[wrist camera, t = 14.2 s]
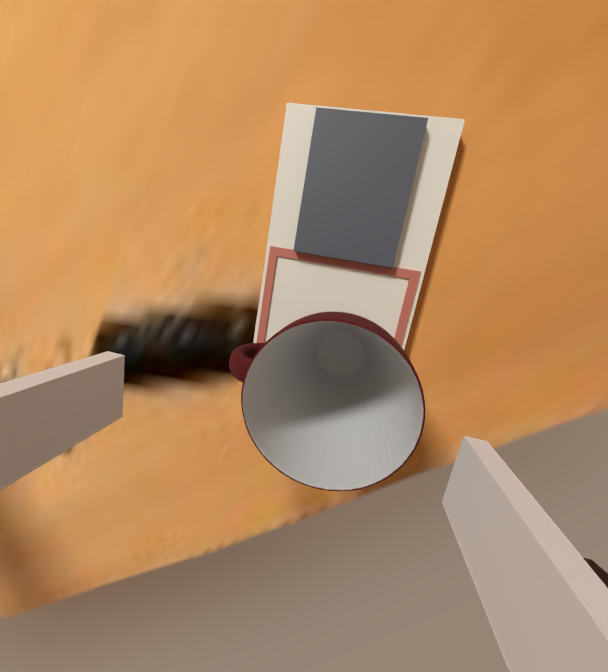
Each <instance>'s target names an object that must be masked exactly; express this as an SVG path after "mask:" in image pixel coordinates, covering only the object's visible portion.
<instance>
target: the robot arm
mask: <svg viewBox="0 0 608 672" xmlns="http://www.w3.org/2000/svg"><path fill="white" fill-rule="evenodd" d="M124 356H125V355H121V354H117V353H112V352H108V351H107V352H104V353H101V354H97V355H94V356H91V357H87V358H84V359H81V360H77V361H74V362H71V363H67V364H64V365H61V366H57V367H54V368H51V369H47V370H44V371H40V372H37V373H34V374H30V375H27V376H24V377H20V378H17V379H14V380H10V381H7V382H4V383H0V490H2V489H3V488H5V487H7V486H8V485H10V484H12V483H13V482H15V481H17V480H18V479H20V478H22V477H23V476H25V475H27V474H28V473H30V472H32V471H33V470H35V469H37V468H38V467H40V466H42V465H43V464H45V463H47V462H48V461H50V460H52V459H53V458H55V457H57V456H58V455H60V454H62V453H63V452H65V451H66V450H68V449H70V448H71V447H73V446H75V445H76V444H78V443H80V442H81V441H83V440H85V439H86V438H88V437H90V436H91V435H93V434H95V433H96V432H98V431H100V430H101V429H103V428H105V427H106V426H108V425H110V424H111V423H113V422H115V421H116V420H118V419H120V418H121V417H122V413H123V385H124ZM442 504H443V507H444V509H445V512H446V514H447V517H448V519H449V522H450V524H451V527H452V529H453V532H454V534H455V537H456V540H457V541H458V544H459V547H460V550H461V552H462V555H463V557H464V560H465V562H466V565H467V567H468V570H469V572H470V575H471V577H472V580H473V582H474V585H475V588H476V590H477V592H478V595H479V598H480V600H481V602H482V605H483V607H484V610H485V613H486V615H487V618H488V620H489V623H490V626H491V628H492V631H493V633H494V636H495V638H496V641H497V643H498V646H499V648H500V651H501V653H502V656H503V658H504V661H505V663H506V666H507V669H508V671H509V672H608V574H607V573H606V572H605V571H604V570H603V569H602V568H601V567H599V566H598V565H597V564H596V563H595V562H594V561H592V560H590V559H586V558H583V557H582V556H581V555H580V554H579V552H578V551H577V550H576V549H575V548H574V546H573V545H572V544H571V543H570V542H569V541H568V539H567V538H566V537H565V535H564V534H563V533H562V532H561V531H560V529H559V528H558V527H557V526H556V524H555V523H554V522H553V521H552V520H551V518H550V517H549V516H548V515H547V514H546V512H545V511H544V510H543V509H542V507H541V506H540V505H539V504H538V503H537V501H536V500H535V499H534V498H533V496H532V495H531V494H530V493H529V492H528V490H527V489H526V488H525V487H524V486H523V484H522V483H521V482H520V481H519V479H518V478H517V477H516V476H515V474H514V473H513V472H512V471H511V470H510V468H509V467H508V466H507V465H506V464H505V462H504V461H503V460H502V459H501V457H500V456H499V455H498V454H497V453H496V451H495V450H494V449H493V448H492V446H491V445H490V444H489V443H488V442H487V441H484V440H480V439H476V438H471V437H467V436H464V437H463V440H462V443H461V446H460V449H459V452H458V455H457V458H456V461H455V464H454V467H453V470H452V473H451V476H450V479H449V482H448V485H447V488H446V491H445V494H444V497H443V500H442Z"/></svg>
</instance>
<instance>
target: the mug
mask: <svg viewBox="0 0 608 672" xmlns="http://www.w3.org/2000/svg"><path fill="white" fill-rule="evenodd" d="M229 367H230V370H231V373H232V375H233V376H234V377H235V378H236V379H238V380H239V381H241V382H243V385H242V393H241V404H242V413H243V418H244V422H245V425H246V428H247V430H248V433H249V435H250V437H251V439H252V441H253V443H254V444H255V446H256V448H257V449H258V450H259V452H260V453H261V454H262V455H263V457H264V458H265V459H266V460H267V461H268V462H269V463H270V464H271V465H272V466H273V467H275V468H276V469H277V470H278V471H280V472H281V473H283V474H284V475H286V476H287V477H289V478H291V479H293V480H295V481H297V482H299V483H301V484H304V485H306V486H309V487H313V488H317V489H322V490H328V491H351V490H357V489H362V488H366V487H369V486H372V485H374V484H377V483H379V482H381V481H383V480H385V479H386V478H388V477H390V476H391V475H392V474H394V473H395V472H396V471H398V470H399V469H400V468H401V467H402V466H403V465H404V464H405V463H406V462H407V460H408V459H409V458H410V456H411V455H412V454H413V452H414V450H415V448H416V447H417V445H418V443H419V440H420V437H421V435H422V431H423V427H424V421H425V401H424V395H423V390H422V387H421V383H420V380H419V378H418V376H417V373H416V371H415V369H414V367H413V365H412V363H411V361H410V360H409V358H408V356H407V354H406V353H405V351H404V350H403V348H402V347H401V346H400V344H399V343H398V342H397V341H396V340H395V339H394V338H393V337H392V336H391V335H390V334H389V333H388V332H387V331H386V330H384V329H383V328H382V327H381V326H379V325H377V324H376V323H374V322H372V321H370V320H368V319H366V318H364V317H361V316H358V315H355V314H351V313H346V312H320V313H315V314H311V315H308V316H305V317H302V318H300V319H298V320H296V321H294V322H292V323H290V324H289V325H287V326H286V327H284V328H283V329H281V330H280V331H278V332H277V333H276V334H275V335H273V336H272V337H271V338H270V339H269V340H268V341H266V342H265V343H250V344H245V345H241V346H239V347H237V348H236V349H235V350H234V351H233V352H232V354H231V356H230V361H229Z"/></svg>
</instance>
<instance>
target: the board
mask: <svg viewBox="0 0 608 672" xmlns="http://www.w3.org/2000/svg"><path fill="white" fill-rule="evenodd" d="M464 121H465V119H456V118H445V117H434V116H424V115H413V114H402V113H391V112H381V111H370V110H359V109H349V108H338V107H327V106H317V105H306V104H295V103H287V107H286V114H285V121H284V128H283V135H282V142H281V150H280V157H279V164H278V171H277V178H276V185H275V192H274V200H273V207H272V214H271V221H270V228H269V235H268V243H267V250H266V257H265V264H264V271H263V278H262V285H261V293H260V300H259V307H258V314H257V321H256V328H255V335H254V343H265V342H266V341H268V340H269V339H270V338H271V337H272V336H273V335H275V334H276V333H277V332H278V331H280V330H281V329H283V328H284V327H286V326H287V325H289V324H290V323H292V322H294V321H296V320H298V319H300V318H302V317H305V316H308V315H311V314H315V313H320V312H346V313H351V314H355V315H358V316H361V317H364V318H366V319H368V320H370V321H372V322H374V323H376V324H377V325H379V326H381V327H382V328H383V329H384V330H386V331H387V332H388V333H389V334H390V335H391V336H392V337H393V338H394V339H395V340H396V341H397V342H398V343H399V344H400V346H401V347H402V348H403V350H404V349H405V345H406V342H407V338H408V334H409V330H410V326H411V323H412V319H413V315H414V311H415V307H416V304H417V300H418V296H419V292H420V288H421V285H422V281H423V277H424V273H425V269H426V265H427V262H428V258H429V254H430V250H431V246H432V243H433V239H434V235H435V231H436V227H437V224H438V220H439V216H440V212H441V208H442V205H443V201H444V197H445V193H446V189H447V186H448V182H449V178H450V174H451V170H452V167H453V163H454V159H455V155H456V151H457V148H458V144H459V140H460V136H461V132H462V129H463V125H464ZM243 420H244V418H243Z"/></svg>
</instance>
